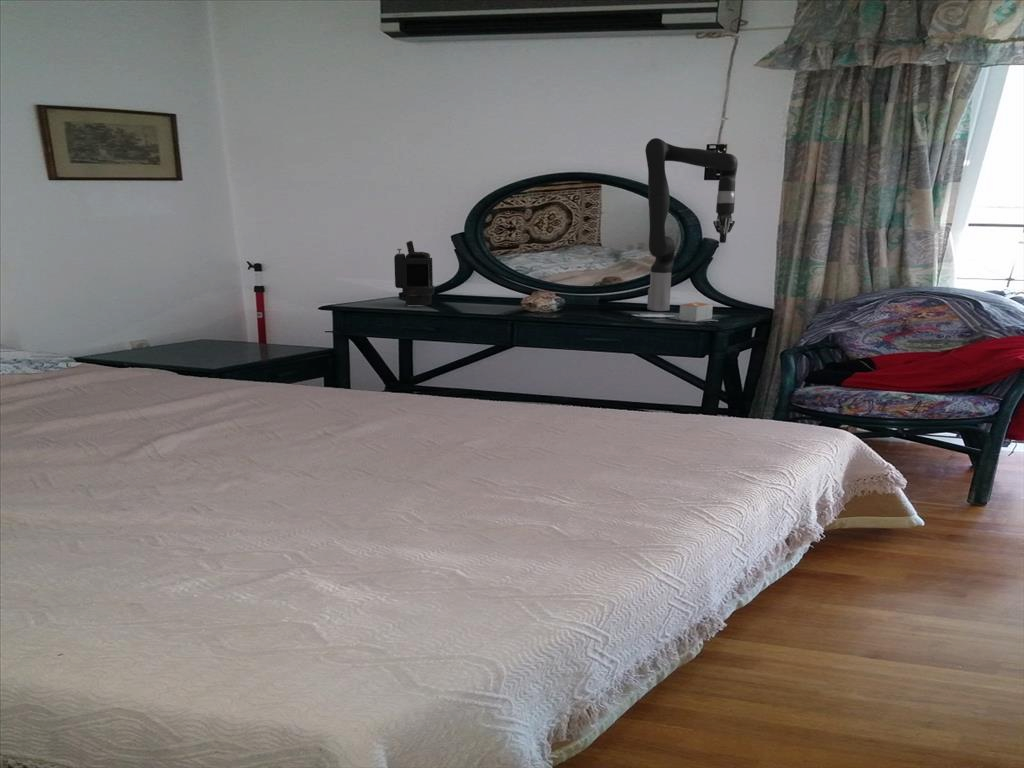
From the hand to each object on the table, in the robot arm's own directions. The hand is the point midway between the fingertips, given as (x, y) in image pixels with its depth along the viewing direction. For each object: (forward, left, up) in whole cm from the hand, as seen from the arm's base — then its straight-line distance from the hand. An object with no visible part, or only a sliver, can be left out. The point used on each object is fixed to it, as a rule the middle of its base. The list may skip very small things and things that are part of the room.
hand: (722, 242), depth 326 cm
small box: (+7, -20, -27) cm, 35 cm away
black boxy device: (-102, -95, -31) cm, 143 cm away
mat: (+7, -28, -31) cm, 42 cm away
